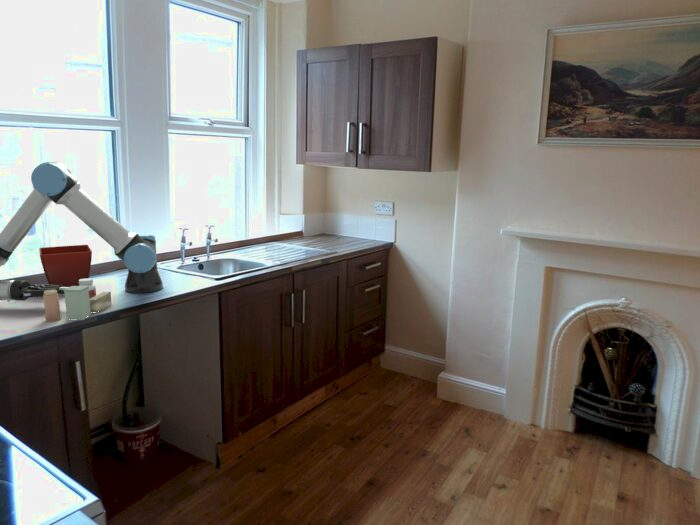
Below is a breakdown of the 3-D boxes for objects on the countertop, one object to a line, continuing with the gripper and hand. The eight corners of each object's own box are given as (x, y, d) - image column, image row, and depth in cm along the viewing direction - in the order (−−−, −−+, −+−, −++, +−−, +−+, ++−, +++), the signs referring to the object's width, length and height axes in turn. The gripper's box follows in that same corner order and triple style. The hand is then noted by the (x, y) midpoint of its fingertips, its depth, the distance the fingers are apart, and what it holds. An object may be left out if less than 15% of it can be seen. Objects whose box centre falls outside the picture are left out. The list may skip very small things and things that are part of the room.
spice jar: (60, 316, 196) (57, 288, 194) (61, 320, 192) (58, 291, 190) (45, 318, 194) (42, 290, 192) (45, 322, 190) (42, 293, 188)
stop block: (88, 313, 200) (87, 299, 199) (103, 304, 212) (102, 291, 211) (97, 313, 200) (95, 299, 199) (111, 304, 212) (110, 291, 211)
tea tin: (66, 320, 192) (63, 289, 190) (75, 315, 198) (72, 285, 196) (83, 320, 192) (80, 290, 190) (91, 315, 198) (88, 286, 196)
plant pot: (95, 290, 234) (92, 250, 231) (44, 295, 225) (39, 254, 221) (91, 281, 250) (87, 244, 247) (43, 285, 241) (38, 247, 238)
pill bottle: (99, 309, 206) (97, 280, 203) (81, 311, 202) (78, 282, 200) (94, 305, 210) (92, 276, 208) (77, 308, 206) (74, 279, 204)
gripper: (26, 295, 213) (87, 296, 212) (4, 304, 200) (69, 305, 199) (24, 276, 211) (85, 277, 211) (2, 284, 198) (67, 285, 198)
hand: (77, 291), depth 205 cm, fingers closed
